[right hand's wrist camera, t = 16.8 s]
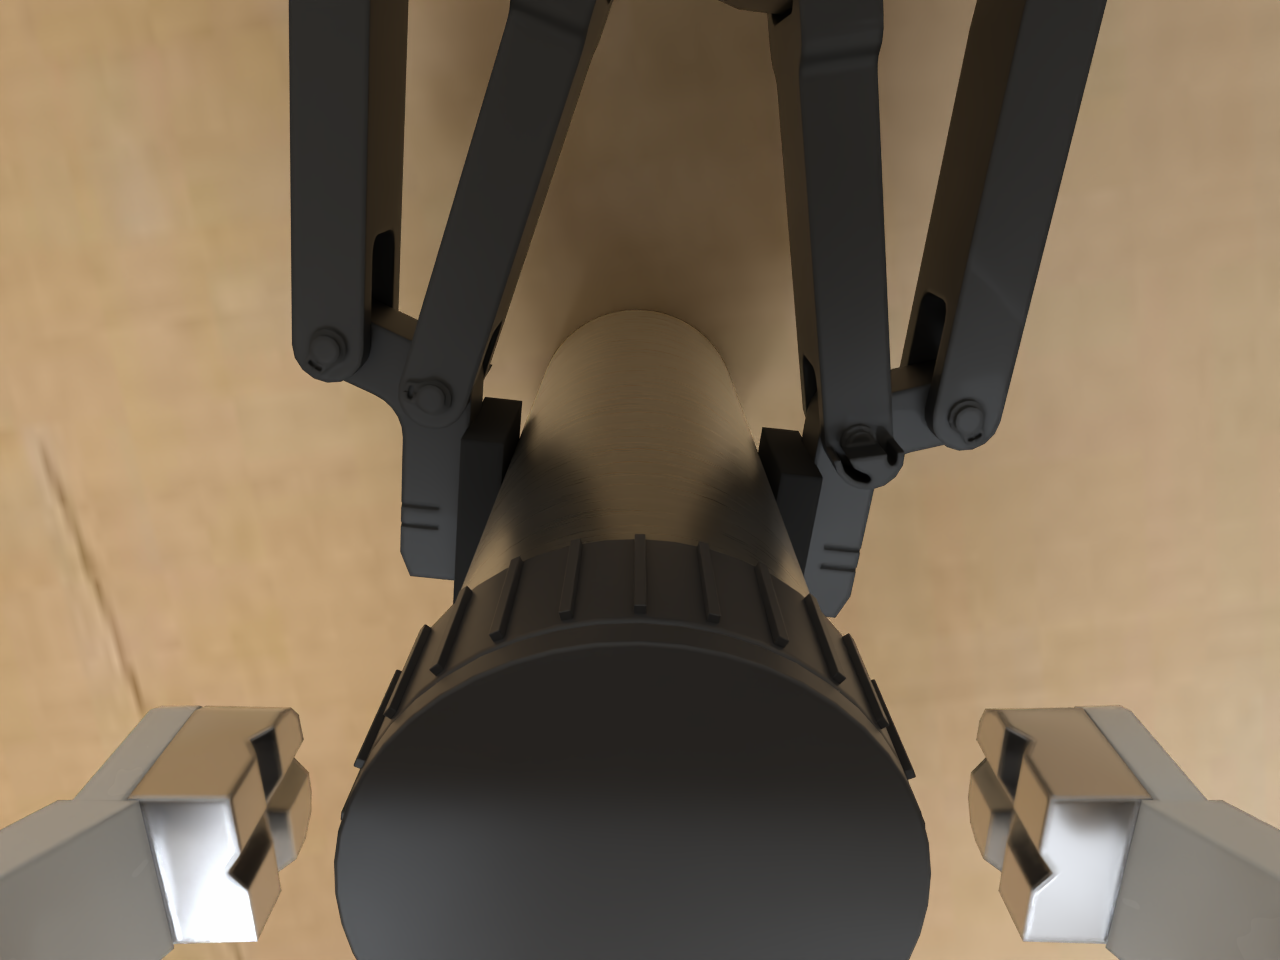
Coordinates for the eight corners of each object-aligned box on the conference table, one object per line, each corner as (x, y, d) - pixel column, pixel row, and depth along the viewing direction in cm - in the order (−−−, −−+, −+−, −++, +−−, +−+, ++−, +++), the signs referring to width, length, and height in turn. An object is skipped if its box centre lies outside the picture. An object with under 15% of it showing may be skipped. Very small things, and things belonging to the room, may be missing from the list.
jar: (500, 385, 23) (269, 811, 9) (658, 268, 22) (696, 531, 8) (617, 528, 25) (585, 1100, 10) (770, 425, 24) (981, 898, 9)
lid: (547, 1000, 12) (527, 1175, 10) (282, 671, 10) (195, 803, 8) (957, 834, 11) (1028, 991, 9) (745, 435, 9) (776, 520, 7)
